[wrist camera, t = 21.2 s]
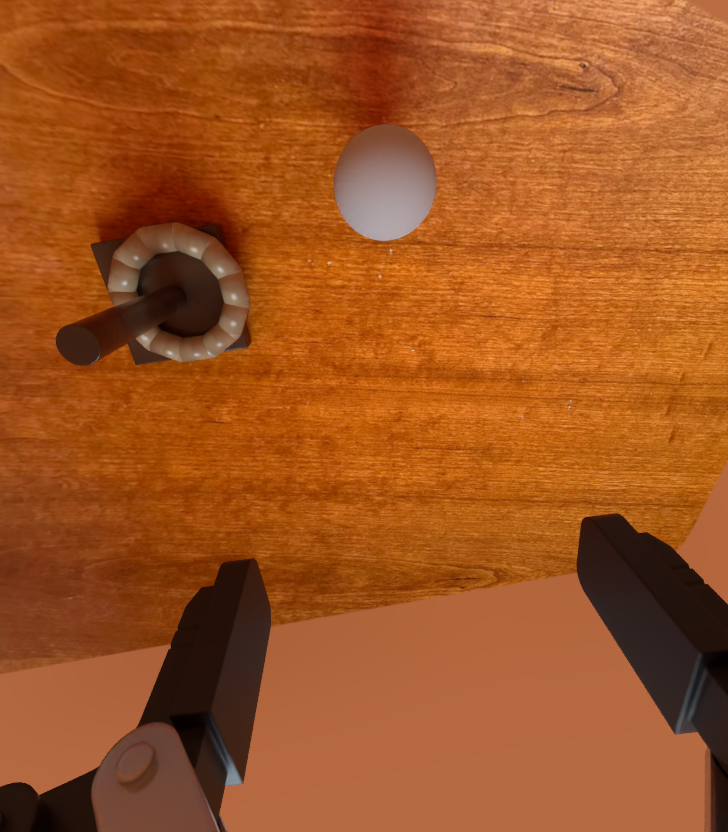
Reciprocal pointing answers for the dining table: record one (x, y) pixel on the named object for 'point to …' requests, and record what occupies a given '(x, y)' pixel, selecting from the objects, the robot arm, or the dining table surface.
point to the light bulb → (385, 182)
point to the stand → (150, 307)
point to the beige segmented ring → (219, 263)
